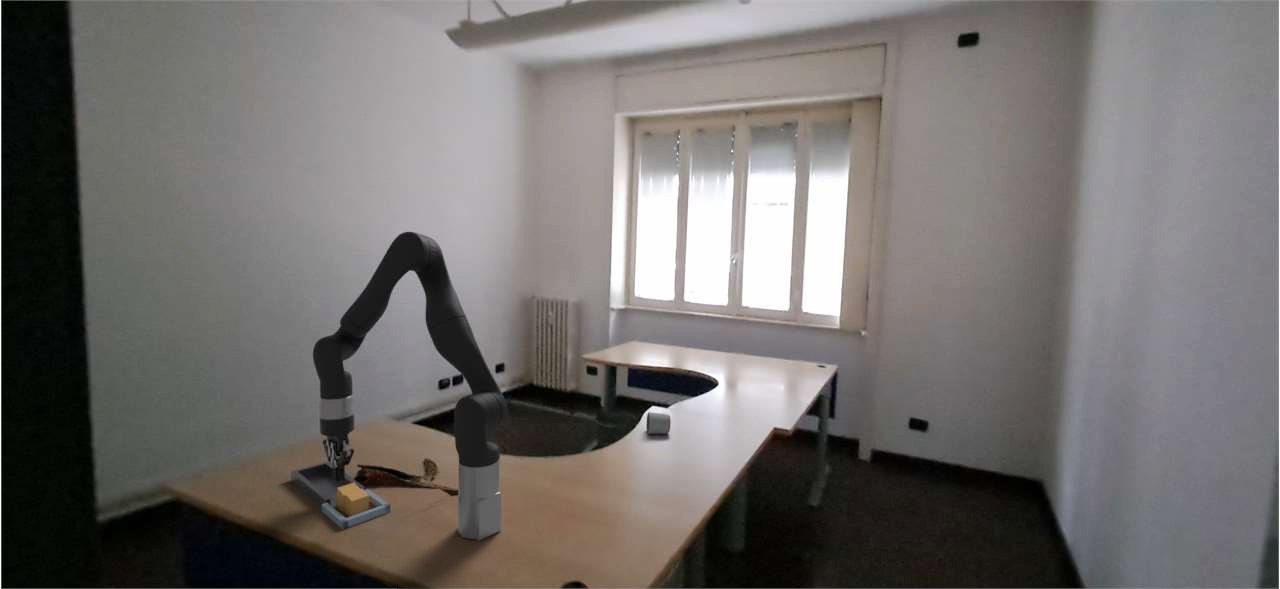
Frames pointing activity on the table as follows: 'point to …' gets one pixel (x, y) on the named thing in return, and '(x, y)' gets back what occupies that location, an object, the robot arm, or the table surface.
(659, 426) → the grey cylinder
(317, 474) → the rail
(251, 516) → the table surface
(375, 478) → the dark wooden branch
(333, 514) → the tray
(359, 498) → the cardboard box
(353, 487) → the tan cardboard cube
